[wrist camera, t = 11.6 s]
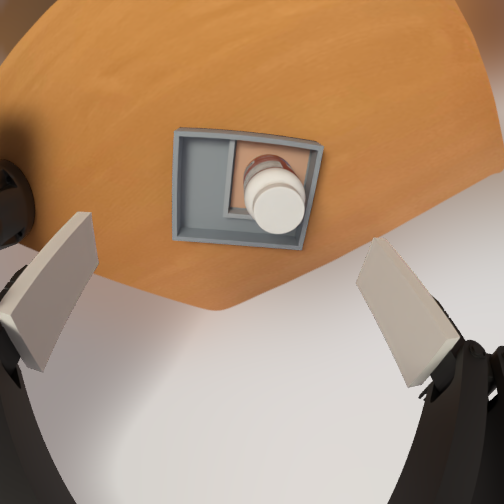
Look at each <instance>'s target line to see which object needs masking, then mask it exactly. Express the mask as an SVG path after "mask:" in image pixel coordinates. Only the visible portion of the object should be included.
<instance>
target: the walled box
mask: <svg viewBox="0 0 504 504" xmlns="http://www.w3.org/2000/svg"><path fill="white" fill-rule="evenodd" d="M323 148H324V146H322V145H321V144H319V143H318V142H316V141H311V140H305V139H299V138H292V137H286V136H278V135H271V134H263V133H254V132H244V131H233V130H221V129H206V128H183V127H180V128H178V129H177V130H175V131H174V144H173V173H172V240H177V241H191V242H204V243H217V244H230V245H243V246H255V247H268V248H280V249H293V250H302V247H303V242H304V238H305V234H306V230H307V225H308V221H309V216H310V212H311V207H312V203H313V198H314V193H315V189H316V184H317V179H318V174H319V169H320V164H321V159H322V154H323ZM263 154H274V155H277V156H280V157H281V158H283V159H284V160H285V161H286V162H287V163H288V164H289V165H290V166H291V168H292V169H293V171H294V172H295V174H296V175H297V177H298V178H299V180H300V181H301V183H302V185H303V187H304V190H305V204H304V206H305V211H304V216H303V219H302V221H301V222H300V224H299V225H298V226H297V227H296V228H295V229H293V230H291V231H289V232H287V233H283V234H272V233H269V232H266V231H265V230H263V229H262V228H261V227H260V226H259V225H258V224H257V222H256V221H255V220H254V219H253V218H252V217H251V215H250V214H249V213H248V211H247V209H246V206H245V201H244V185H243V175H244V171H245V168H246V167H247V165H248V164H249V162H250V161H251V160H253V159H254V158H256V157H258V156H260V155H263Z"/></svg>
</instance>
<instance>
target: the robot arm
mask: <svg viewBox="0 0 504 504" xmlns="http://www.w3.org/2000/svg"><path fill="white" fill-rule="evenodd" d="M34 216H35V207H34V200H33V195H32V192H31V189H30V186H29V184H28V182H27V180H26V178H25V176H24V175H23V173H22V172H21V171H20V169H19V168H18V167H17V166H16V165H14V164H13V163H12V162H10V161H7V160H0V250H1V249H4V248H7V247H9V246H12V245H15V244H17V243H19V242H20V241H21V240H22V239H23V238H24V237H25V236H27V235H28V233H29V232H30V230H31V229H32V226H33V223H34ZM98 264H99V261H98V256H97V250H96V243H95V237H94V230H93V222H92V214H91V212H77V213H76V214H75V215H74V216H73V217H72V218H71V219H70V220H69V221H68V222H67V223H66V224H65V225H64V226H63V227H62V228H61V229H60V230H59V231H58V232H57V233H56V234H55V235H54V236H53V237H52V239H51V240H50V241H49V242H48V243H47V244H46V245H45V246H44V247H43V249H42V250H41V251H40V252H39V253H38V255H37V256H36V257H35V258H34V259H33V260H32V261H31V263H30V264H29V265H25V266H24V267H23V268H21V269H20V270H18V271H17V272H16V273H15V274H14V276H13V277H12V278H11V280H10V282H8V283H7V285H6V286H5V289H3V290H2V291H1V292H0V504H76V502H75V501H74V499H73V497H72V496H71V494H70V492H69V491H68V489H67V487H66V485H65V483H64V482H63V480H62V478H61V476H60V474H59V472H58V470H57V468H56V466H55V464H54V462H53V460H52V458H51V456H50V453H49V451H48V449H47V447H46V444H45V442H44V440H43V438H42V435H41V432H40V430H39V427H38V425H37V422H36V419H35V416H34V414H33V410H32V407H31V404H30V401H29V398H28V395H27V391H26V388H25V384H24V381H23V377H22V374H21V370H20V368H19V366H18V364H17V363H18V361H19V359H20V357H21V358H22V360H23V362H24V363H25V364H26V366H27V367H28V368H31V369H34V370H37V371H40V372H43V371H44V369H45V367H46V364H47V362H48V360H49V357H50V355H51V353H52V351H53V348H54V346H55V344H56V342H57V340H58V338H59V335H60V334H61V331H62V329H63V327H64V325H65V323H66V321H67V320H68V318H69V315H70V314H71V312H72V310H73V308H74V306H75V304H76V302H77V301H78V299H79V297H80V295H81V293H82V291H83V290H84V288H85V286H86V284H87V283H88V281H89V279H90V277H91V276H92V274H93V273H94V271H95V269H96V268H97V266H98ZM356 284H357V286H358V287H359V290H360V291H361V293H362V295H363V297H364V299H365V301H366V303H367V305H368V307H369V308H370V310H371V312H372V314H373V316H374V318H375V320H376V322H377V324H378V326H379V328H380V330H381V332H382V334H383V336H384V338H385V340H386V342H387V344H388V346H389V348H390V350H391V352H392V354H393V356H394V358H395V361H396V363H397V365H398V367H399V369H400V371H401V374H402V376H403V378H404V380H405V383H406V385H407V387H408V388H409V387H413V386H418V385H422V384H423V382H424V381H425V380H426V379H427V378H428V377H429V376H431V378H432V380H433V381H432V382H431V383H430V384H429V385H428V387H427V388H426V389H425V390H424V391H423V392H422V393H421V394H420V396H419V399H421V397H423V396H424V394H427V395H426V398H425V399H424V401H425V403H424V407H423V411H422V414H421V418H420V421H419V424H418V428H417V431H416V434H415V437H414V440H413V443H412V446H411V449H410V452H409V454H408V458H407V460H406V462H405V465H404V468H403V470H402V473H401V475H400V477H399V480H398V482H397V484H396V487H395V489H394V491H393V493H392V495H391V498H390V500H389V502H388V504H504V346H499V347H498V348H497V349H496V351H495V352H494V353H493V354H488V353H486V352H485V350H484V348H483V347H482V346H481V345H480V344H479V343H477V342H476V341H473V340H467V341H465V339H464V338H463V336H462V335H461V333H460V331H459V330H458V329H457V327H456V326H455V324H454V323H453V321H452V320H451V318H449V316H448V314H447V313H446V311H444V309H443V307H442V306H441V304H440V303H439V302H438V301H437V300H436V299H435V298H434V297H433V296H432V295H431V294H430V293H429V292H428V290H427V289H426V288H425V286H424V285H423V284H422V282H421V281H420V280H419V279H418V277H417V276H416V275H415V274H414V272H413V271H412V270H411V268H410V267H409V266H408V265H407V263H406V262H405V261H404V260H403V259H402V257H400V255H399V254H398V253H397V252H396V250H395V249H394V248H393V247H392V245H391V244H390V243H389V242H388V241H387V240H386V239H382V238H374V237H373V240H372V243H371V245H370V248H369V251H368V254H367V256H366V259H365V261H364V264H363V266H362V269H361V271H360V274H359V276H358V279H357V282H356ZM496 388H497V392H498V394H497V395H496V396H495V397H494V398H493V399H492V400H490V401H489V399H488V396H489V395H490V394H491V393H492V392H493V391H494V390H495V389H496Z"/></svg>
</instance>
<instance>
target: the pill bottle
mask: <svg viewBox="0 0 504 504" xmlns="http://www.w3.org/2000/svg"><path fill="white" fill-rule="evenodd" d="M243 185H244V201H245V206H246V209H247V211H248V213H249V214H250V215H251V217H252V218H253V219H254V220H255V221H256V222H257V224H258V225H259V226H260V227H261V228H262V229H263V230H265V231H266V232H269V233H272V234H283V233H287V232H289V231H291V230H293V229H295V228H296V227H297V226H298V225H299V224H300V222H301V221H302V219H303V216H304V211H305V206H304V204H305V190H304V187H303V185H302V183H301V181H300V180H299V178H298V177H297V175H296V174H295V172H294V171H293V169H292V168H291V166H290V165H289V164H288V163H287V162H286V161H285V160H284V159H283V158H281V157H280V156H277V155H274V154H263V155H260V156H258V157H256V158H254V159H253V160H251V161H250V162H249V164H248V165H247V167H246V168H245V171H244V175H243Z"/></svg>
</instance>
